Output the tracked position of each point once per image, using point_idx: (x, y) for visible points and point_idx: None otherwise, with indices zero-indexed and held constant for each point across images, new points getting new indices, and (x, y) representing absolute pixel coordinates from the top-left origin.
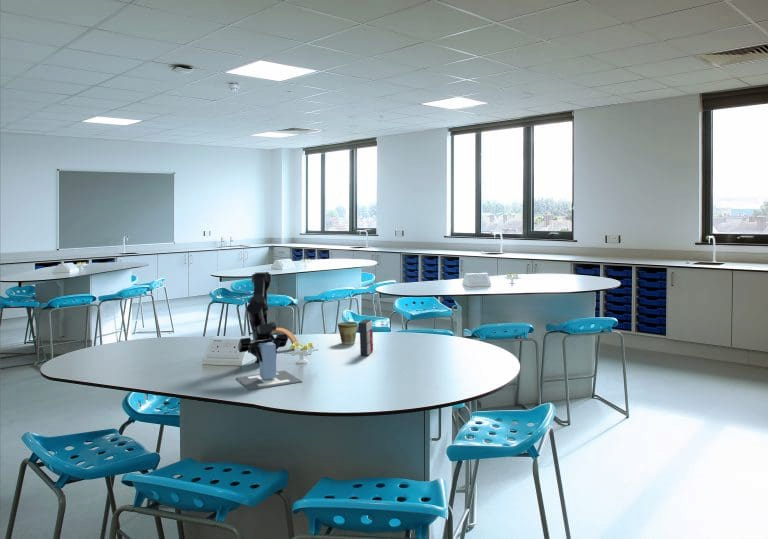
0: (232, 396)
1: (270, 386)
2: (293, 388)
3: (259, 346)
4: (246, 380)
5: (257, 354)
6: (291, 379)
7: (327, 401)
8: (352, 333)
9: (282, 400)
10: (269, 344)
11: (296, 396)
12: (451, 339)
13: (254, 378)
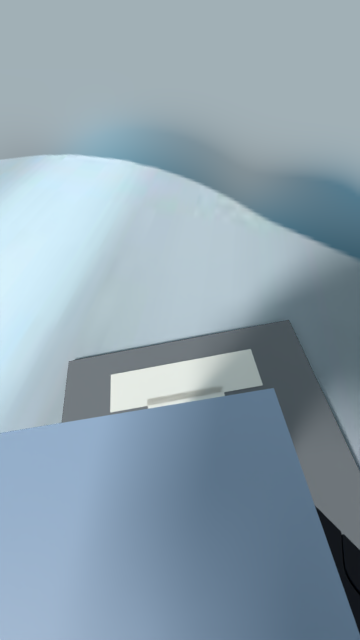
0: (347, 273)
1: (203, 336)
2: (130, 295)
3: None
4: (339, 523)
5: (332, 536)
6: (94, 409)
7: (102, 189)
8: None
9: (189, 210)
10: (92, 476)
11: (148, 228)
12: None
13: None
